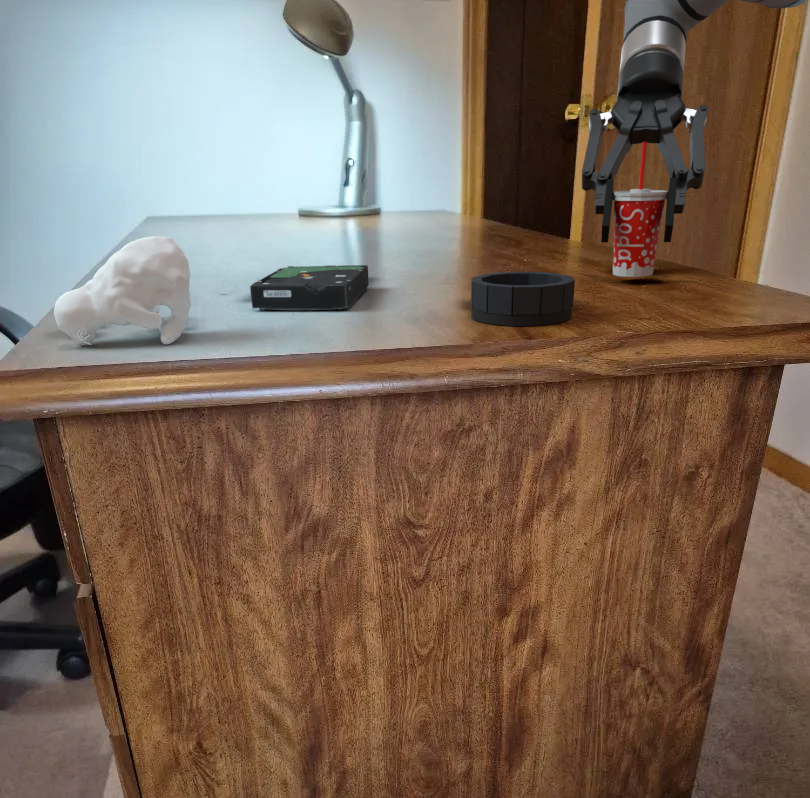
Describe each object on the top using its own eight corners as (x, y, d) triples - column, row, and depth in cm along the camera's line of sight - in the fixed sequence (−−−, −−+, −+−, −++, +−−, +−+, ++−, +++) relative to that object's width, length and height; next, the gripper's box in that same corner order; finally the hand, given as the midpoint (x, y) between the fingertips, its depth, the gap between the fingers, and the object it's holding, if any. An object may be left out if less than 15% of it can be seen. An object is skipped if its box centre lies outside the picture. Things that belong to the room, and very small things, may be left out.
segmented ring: (592, 318, 75) (595, 280, 73) (508, 330, 71) (509, 290, 69) (531, 304, 82) (533, 268, 81) (452, 314, 78) (452, 277, 77)
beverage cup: (595, 274, 94) (604, 143, 88) (631, 269, 97) (643, 142, 91) (633, 279, 90) (646, 141, 83) (670, 274, 93) (686, 140, 86)
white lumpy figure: (183, 235, 65) (30, 258, 62) (207, 339, 69) (64, 364, 66) (179, 229, 70) (39, 250, 68) (202, 325, 74) (69, 348, 72)
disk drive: (350, 313, 81) (369, 287, 94) (348, 284, 80) (368, 263, 93) (251, 313, 82) (284, 288, 95) (248, 285, 81) (282, 263, 94)
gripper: (729, 99, 96) (721, 256, 89) (570, 105, 101) (551, 256, 94) (741, 43, 89) (733, 209, 82) (570, 53, 94) (549, 211, 87)
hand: (636, 233), depth 88 cm, fingers closed on beverage cup, 6 cm apart
